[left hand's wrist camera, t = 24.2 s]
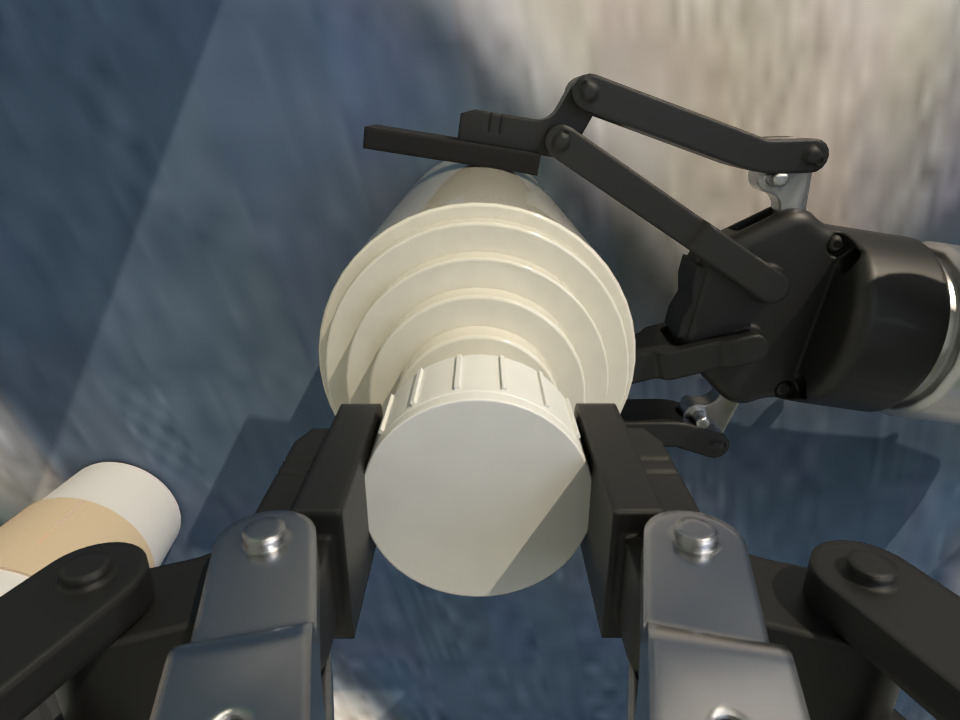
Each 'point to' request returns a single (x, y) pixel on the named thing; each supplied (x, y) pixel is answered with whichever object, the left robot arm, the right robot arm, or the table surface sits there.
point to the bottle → (476, 293)
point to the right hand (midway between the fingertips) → (361, 247)
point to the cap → (478, 477)
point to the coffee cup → (88, 527)
